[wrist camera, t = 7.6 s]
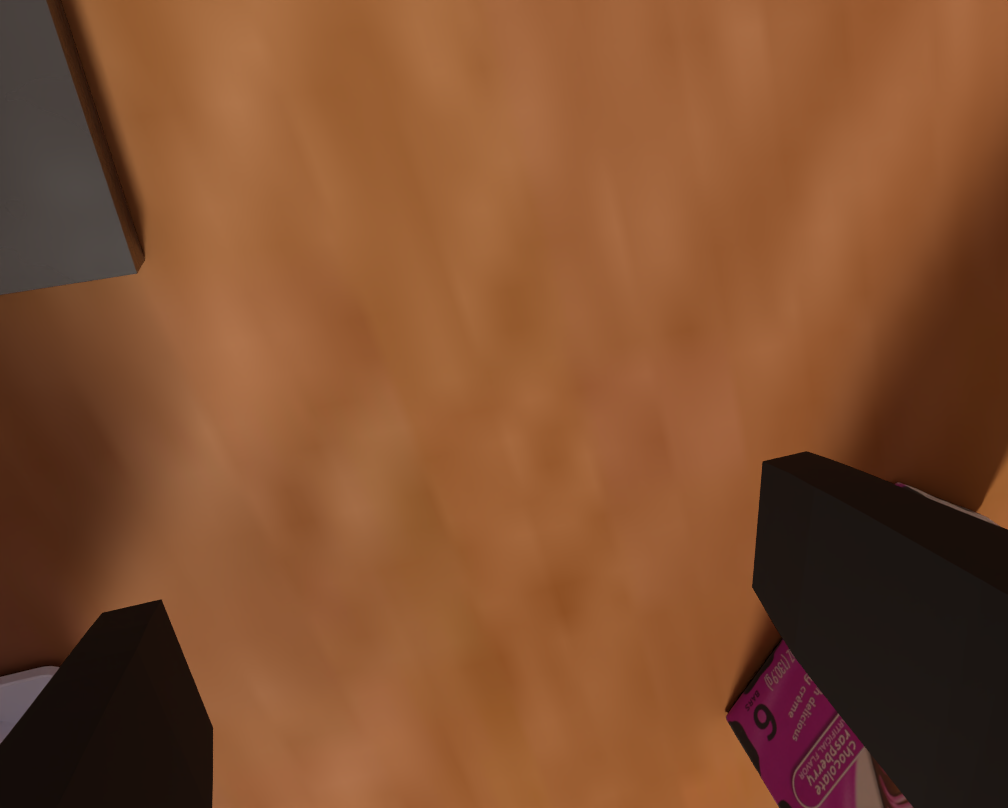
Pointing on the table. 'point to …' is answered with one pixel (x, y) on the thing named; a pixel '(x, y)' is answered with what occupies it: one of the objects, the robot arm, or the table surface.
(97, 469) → the table surface
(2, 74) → the jack housing
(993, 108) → the table surface
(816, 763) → the candy bar box
